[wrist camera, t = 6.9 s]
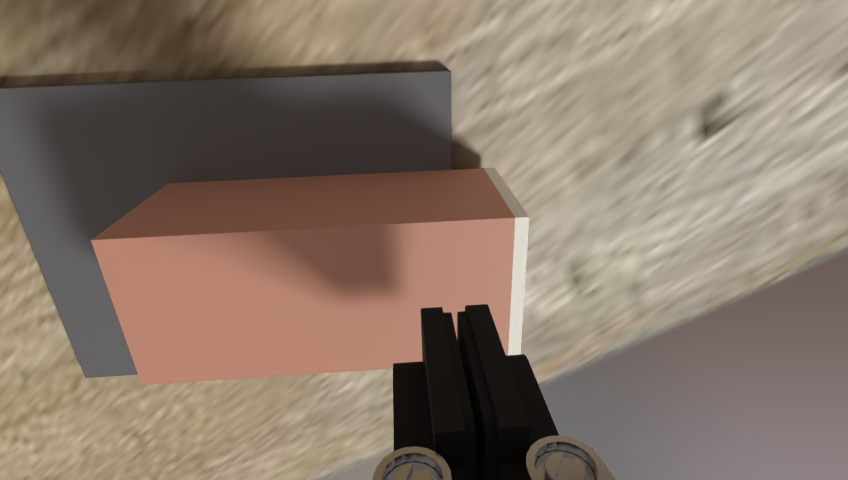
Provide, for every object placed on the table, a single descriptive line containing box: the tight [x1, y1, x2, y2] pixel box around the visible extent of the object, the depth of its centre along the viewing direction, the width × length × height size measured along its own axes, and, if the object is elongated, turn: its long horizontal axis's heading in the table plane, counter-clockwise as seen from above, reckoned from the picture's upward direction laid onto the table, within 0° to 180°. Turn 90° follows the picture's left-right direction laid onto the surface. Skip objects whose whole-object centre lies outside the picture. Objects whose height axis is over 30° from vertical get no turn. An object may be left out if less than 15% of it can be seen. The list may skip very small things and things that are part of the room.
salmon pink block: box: [91, 168, 529, 385], centre depth 17 cm, size 5×5×12 cm
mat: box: [0, 70, 452, 378], centre depth 19 cm, size 16×12×1 cm
